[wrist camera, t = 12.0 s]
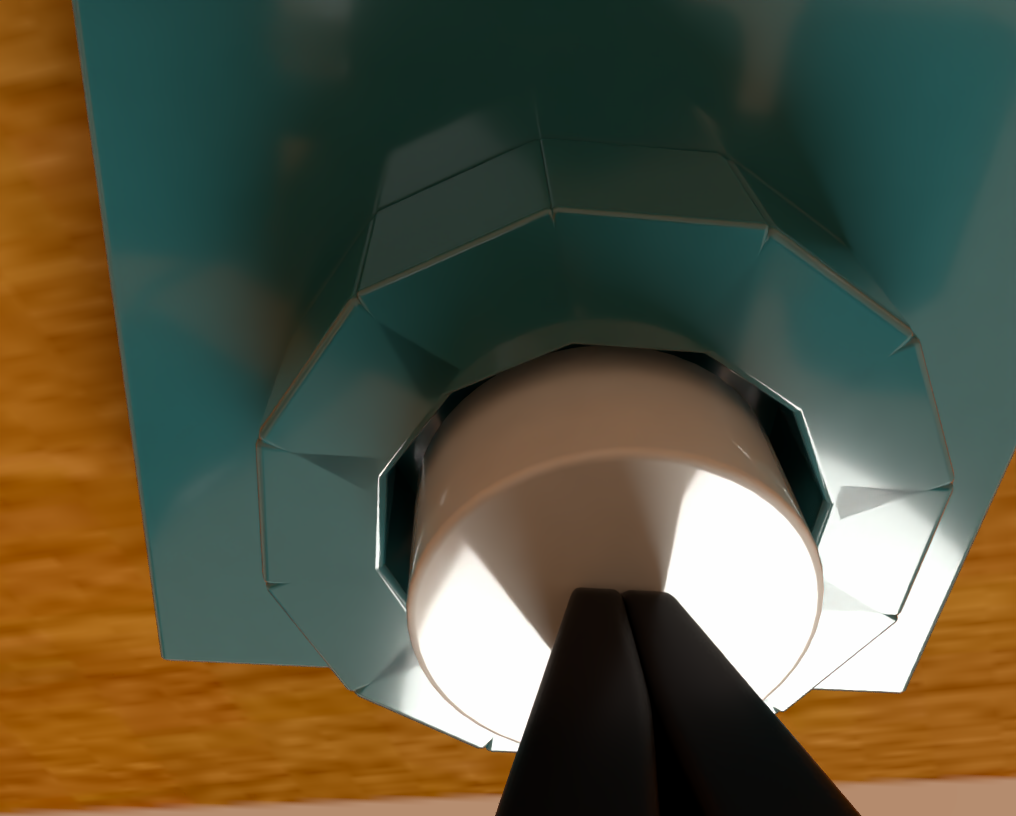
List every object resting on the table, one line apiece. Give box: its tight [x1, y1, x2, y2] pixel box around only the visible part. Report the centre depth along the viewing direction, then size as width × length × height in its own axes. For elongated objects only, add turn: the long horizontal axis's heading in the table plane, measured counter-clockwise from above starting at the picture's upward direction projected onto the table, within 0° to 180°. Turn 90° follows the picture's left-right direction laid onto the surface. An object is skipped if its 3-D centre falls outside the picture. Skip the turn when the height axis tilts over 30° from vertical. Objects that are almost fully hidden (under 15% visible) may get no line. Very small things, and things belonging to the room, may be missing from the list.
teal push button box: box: [71, 0, 1016, 753], centre depth 10 cm, size 12×10×4 cm
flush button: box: [406, 345, 824, 743], centre depth 9 cm, size 4×4×2 cm
